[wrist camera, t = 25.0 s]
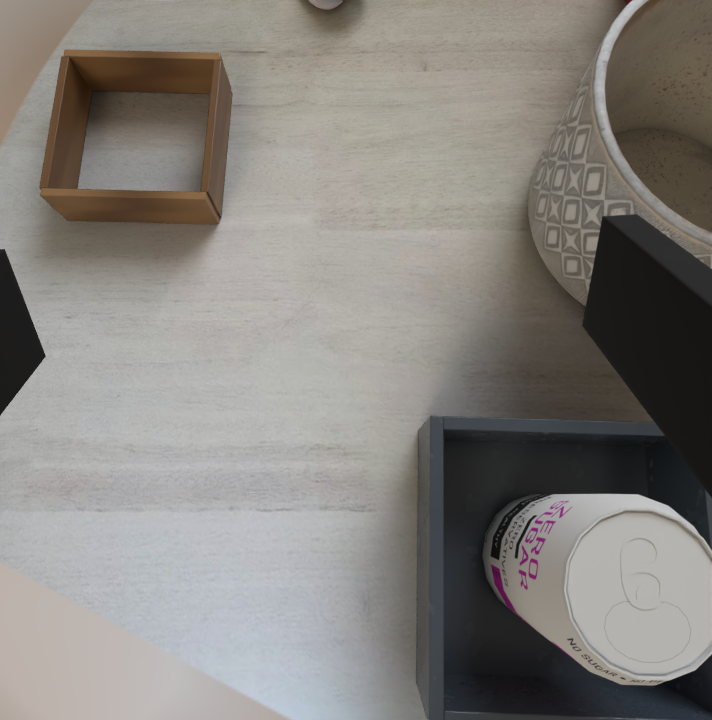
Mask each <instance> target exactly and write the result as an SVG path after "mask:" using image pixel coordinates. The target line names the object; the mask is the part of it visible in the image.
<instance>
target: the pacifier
mask: <svg viewBox="0 0 712 720" xmlns="http://www.w3.org/2000/svg"><path fill="white" fill-rule="evenodd" d="M308 1H309V2H310V3H311V4H313V5H314V6H316V7H317V8H321V9H332V8H335V7H337V6H338V5H339V4H341V3H342V1H343V0H308Z"/></svg>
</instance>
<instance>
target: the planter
mask: <svg viewBox="0 0 712 720" xmlns="http://www.w3.org/2000/svg"><path fill="white" fill-rule="evenodd" d="M632 214H637V215H639V216H640V217H641V218H643V219H644V220H646V221H647V222H648V223H650V224H651V225H652V226H654V227H655V228H657V229H658V230H659V231H661V232H662V233H663V234H665V235H666V236H667V237H669V238H670V239H672V240H673V241H674V242H676V243H677V244H678V245H680V246H681V247H682V248H684V249H685V250H687V251H688V252H689V253H691V254H692V255H693V256H695V257H696V258H697V259H699V260H700V261H702V262H703V263H704V264H706V265H707V266H708V267H710V268H711V269H712V0H632V1H631V2H630V3H628V4H627V5H626V6H625V8H624V9H623V10H622V11H621V13H620V14H619V15H618V16H617V17H616V19H615V20H614V21H613V22H612V24H611V26H610V28H609V30H608V31H607V33H606V35H605V37H604V39H603V40H602V42H601V44H600V46H599V48H598V50H597V52H596V54H595V55H594V57H593V59H592V61H591V63H590V65H589V67H588V69H587V71H586V72H585V74H584V76H583V78H582V80H581V82H580V84H579V86H578V88H577V89H576V91H575V93H574V95H573V97H572V99H571V101H570V103H569V105H568V106H567V108H566V110H565V112H564V114H563V116H562V118H561V120H560V122H559V123H558V125H557V127H556V129H555V131H554V133H553V135H552V137H551V139H550V140H549V142H548V144H547V146H546V148H545V150H544V152H543V154H542V156H541V157H540V159H539V161H538V163H537V165H536V167H535V170H534V173H533V176H532V179H531V183H530V189H529V196H528V218H529V223H530V228H531V233H532V237H533V239H534V242H535V245H536V247H537V250H538V253H539V254H540V256H541V258H542V260H543V262H544V263H545V265H546V267H547V269H548V270H549V271H550V273H551V274H552V275H553V276H554V278H555V279H556V280H557V282H558V283H559V284H560V285H561V286H562V287H563V288H564V289H565V290H566V291H567V292H568V293H569V294H570V295H571V296H572V297H573V298H575V299H576V300H577V301H579V302H580V303H581V304H583V305H584V306H586V303H587V297H588V292H589V286H590V281H591V276H592V270H593V265H594V259H595V254H596V248H597V243H598V238H599V232H600V227H601V221H602V216H614V215H632Z"/></svg>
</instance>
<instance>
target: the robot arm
mask: <svg viewBox="0 0 712 720" xmlns="http://www.w3.org/2000/svg"><path fill="white" fill-rule="evenodd" d="M582 326H583V327H584V329H585V330H586V331H587V333H588V334H589V335H590V337H591V338H592V339H593V341H594V342H595V343H596V345H597V346H598V347H599V349H600V350H601V351H602V353H603V354H604V355H605V357H606V358H607V359H608V361H609V362H610V363H611V365H612V366H613V367H614V369H615V370H616V371H617V373H618V374H619V375H620V377H621V378H622V379H623V381H624V382H625V383H626V385H627V386H628V387H629V389H630V390H631V391H632V393H633V394H634V395H635V397H636V398H637V399H638V401H639V402H640V403H641V405H642V406H643V407H644V409H645V410H646V411H647V413H648V414H649V415H650V417H651V418H652V419H653V421H654V422H655V423H656V425H657V426H658V427H659V429H660V430H661V431H662V432H663V434H664V435H665V436H666V438H667V439H668V440H669V442H670V443H671V444H672V446H673V447H674V448H675V450H676V451H677V452H678V454H679V455H680V456H681V458H682V459H683V460H684V462H685V463H686V464H687V466H688V467H689V468H690V470H691V471H692V472H693V474H694V475H695V476H696V478H697V479H698V480H699V482H700V483H701V484H702V486H703V487H704V488H705V490H706V491H707V492H708V494H709V495H710V496H711V498H712V269H711V268H710V267H708V266H707V265H706V264H704V263H703V262H702V261H700V260H699V259H697V258H696V257H695V256H693V255H692V254H691V253H689V252H688V251H687V250H685V249H684V248H682V247H681V246H680V245H678V244H677V243H676V242H674V241H673V240H672V239H670V238H669V237H667V236H666V235H665V234H663V233H662V232H661V231H659V230H658V229H657V228H655V227H654V226H652V225H651V224H650V223H648V222H647V221H646V220H644V219H643V218H641V217H640V216H639V215H637V214H632V215H614V216H602V221H601V227H600V232H599V238H598V243H597V248H596V254H595V259H594V265H593V270H592V276H591V281H590V286H589V292H588V297H587V303H586V308H585V313H584V319H583V324H582ZM45 357H46V356H45V353H44V351H43V348H42V345H41V343H40V340H39V338H38V335H37V332H36V330H35V327H34V324H33V322H32V319H31V317H30V314H29V311H28V309H27V306H26V304H25V301H24V298H23V296H22V293H21V291H20V288H19V285H18V283H17V280H16V278H15V275H14V272H13V270H12V267H11V264H10V262H9V259H8V257H7V254H6V251H5V249H0V415H1V414H2V412H3V411H4V410H5V408H6V407H7V406H8V404H9V403H10V402H11V401H12V399H13V398H14V397H15V395H16V394H17V393H18V392H19V390H20V389H21V388H22V386H23V385H24V384H25V382H26V381H27V380H28V379H29V377H30V376H31V375H32V373H33V372H34V371H35V369H36V368H37V367H38V366H39V364H40V363H41V362H42V360H43V359H44V358H45Z"/></svg>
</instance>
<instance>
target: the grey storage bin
mask: <svg viewBox="0 0 712 720" xmlns="http://www.w3.org/2000/svg"><path fill="white" fill-rule="evenodd" d="M530 494H638V495H641V496H644V497H646V498H649V499H652V500H654V501H657V502H660V503H662V504H665V505H668V506H669V507H670V508H672V509H673V510H674V511H675V512H677V513H678V514H679V515H680V516H682V517H683V518H684V519H685V520H687V521H688V522H689V523H690V524H691V525H693V526H694V527H695V529H696V530H697V532H698V533H699V535H700V536H702V537H703V538H704V540H705V541H706V543H707V544H708V546H709V547H710V549H711V550H712V498H711V496H710V495H709V494H708V492H707V491H706V490H705V488H704V487H703V486H702V484H701V483H700V482H699V480H698V479H697V478H696V476H695V475H694V474H693V472H692V471H691V470H690V468H689V467H688V466H687V464H686V463H685V462H684V460H683V459H682V458H681V456H680V455H679V454H678V452H677V451H676V450H675V448H674V447H673V446H672V444H671V443H670V442H669V440H668V439H667V438H666V436H665V435H664V434H663V432H662V431H661V430H660V429H659V427H658V426H657V425H656V423H655V422H622V421H589V420H557V419H524V418H491V417H458V416H444V417H443V416H430V417H429V418H428V419H427V421H426V422H425V423H424V424H423V425H422V426H421V428H420V429H419V430H418V518H417V641H416V683H417V686H418V690H419V693H420V697H421V700H422V703H423V707H424V710H425V714H426V717H427V720H712V655H711V656H709V657H708V658H707V659H706V660H705V661H704V662H703V663H702V664H701V665H700V666H699V667H698V668H697V669H696V670H695V671H692V672H690V673H687V674H685V675H682V676H679V677H677V678H674V679H672V680H669V681H665V682H663V683H660V684H658V685H621V684H619V683H616V682H614V681H611V680H609V679H606V678H604V677H602V676H599V675H597V674H594V673H592V672H590V671H588V670H587V669H586V668H584V667H583V666H582V665H581V664H579V663H578V662H577V661H575V660H574V659H573V658H571V657H570V656H569V655H568V654H566V653H565V652H564V651H562V650H561V649H560V648H558V647H557V646H556V645H555V644H553V643H552V642H551V641H549V640H548V639H547V638H545V637H544V636H543V635H542V634H540V633H539V632H538V631H536V630H535V629H534V628H532V627H531V626H530V625H529V624H527V623H526V622H525V621H523V620H522V619H521V618H519V617H518V616H517V615H516V614H514V613H513V612H512V611H511V610H510V609H509V608H508V607H507V606H505V605H504V604H503V603H502V602H501V601H500V600H499V599H498V598H497V596H496V594H495V593H494V591H493V589H492V587H491V586H490V584H489V582H488V580H487V578H486V573H485V568H484V563H483V558H482V554H483V547H484V540H485V534H486V532H487V530H488V528H489V526H490V524H491V523H492V521H493V519H494V517H495V515H496V514H497V513H498V512H500V511H501V510H502V509H503V508H504V507H505V506H507V505H508V504H509V503H510V502H511V501H514V500H517V499H519V498H522V497H525V496H528V495H530Z"/></svg>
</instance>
